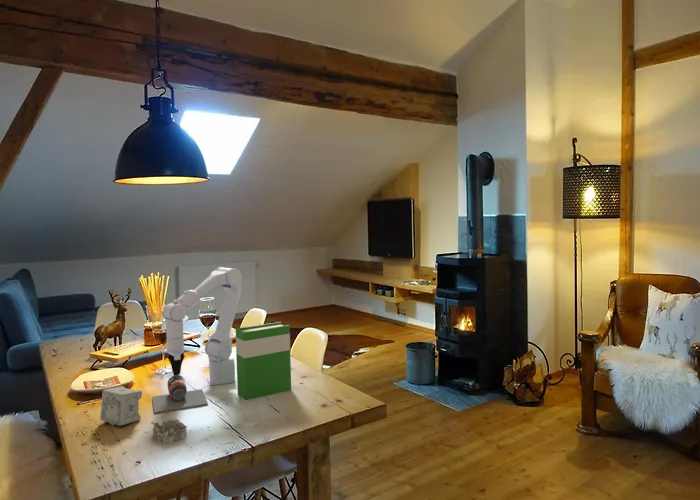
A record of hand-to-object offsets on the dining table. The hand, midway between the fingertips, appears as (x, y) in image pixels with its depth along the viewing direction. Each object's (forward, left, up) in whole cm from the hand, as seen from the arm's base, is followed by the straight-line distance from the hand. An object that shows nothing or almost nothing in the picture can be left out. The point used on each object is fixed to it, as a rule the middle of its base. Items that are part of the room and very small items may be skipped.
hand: (176, 374), depth 179 cm
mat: (0, +7, -7) cm, 10 cm away
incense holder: (+18, +16, -8) cm, 26 cm away
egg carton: (+5, +34, -8) cm, 35 cm away
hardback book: (-29, +11, -8) cm, 32 cm away
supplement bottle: (0, -2, -3) cm, 4 cm away
